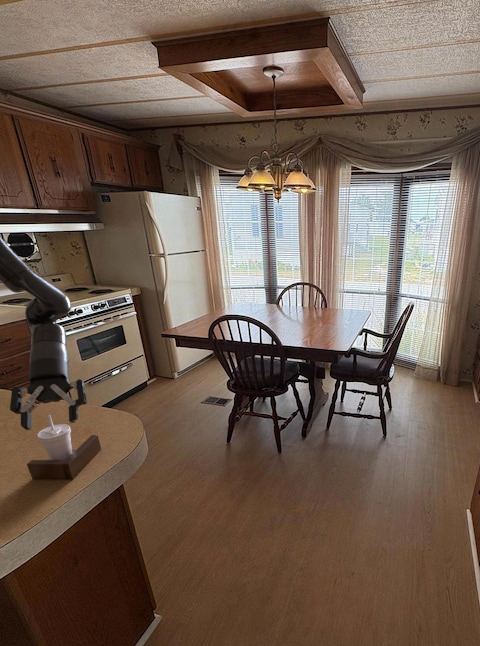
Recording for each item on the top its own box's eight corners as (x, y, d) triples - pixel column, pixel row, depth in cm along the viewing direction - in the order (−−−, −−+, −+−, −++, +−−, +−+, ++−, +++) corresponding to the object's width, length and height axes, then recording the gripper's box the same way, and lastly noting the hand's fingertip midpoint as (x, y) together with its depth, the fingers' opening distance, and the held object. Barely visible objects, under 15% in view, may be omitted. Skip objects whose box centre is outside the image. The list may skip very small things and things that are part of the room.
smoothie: (76, 453, 89) (62, 405, 84) (82, 464, 85) (68, 415, 79) (46, 463, 85) (29, 414, 79) (50, 476, 81) (33, 425, 75)
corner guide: (27, 479, 80) (21, 464, 78) (62, 449, 91) (57, 434, 89) (73, 479, 80) (68, 464, 79) (101, 449, 91) (97, 434, 90)
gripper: (5, 360, 79) (3, 427, 74) (79, 353, 85) (82, 415, 80) (20, 372, 85) (19, 435, 80) (87, 365, 91) (90, 423, 86)
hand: (50, 425), depth 80 cm, fingers open, 8 cm apart
